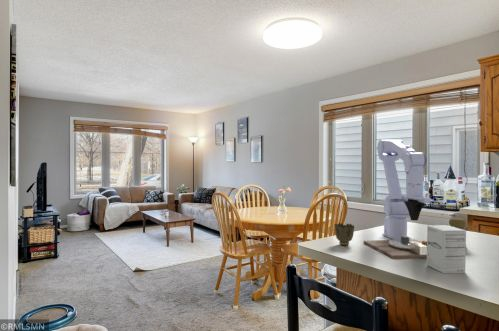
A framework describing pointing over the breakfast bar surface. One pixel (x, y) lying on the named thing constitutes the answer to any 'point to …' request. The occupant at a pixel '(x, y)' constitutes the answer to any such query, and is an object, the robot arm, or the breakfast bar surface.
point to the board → (395, 252)
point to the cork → (457, 223)
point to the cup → (344, 233)
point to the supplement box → (446, 248)
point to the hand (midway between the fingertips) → (414, 220)
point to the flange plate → (409, 246)
